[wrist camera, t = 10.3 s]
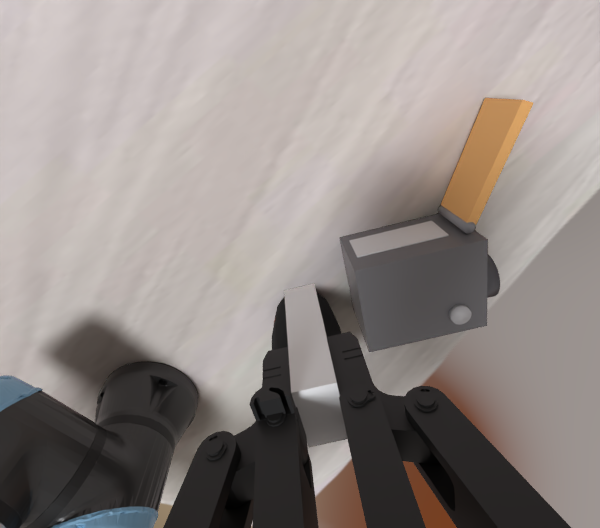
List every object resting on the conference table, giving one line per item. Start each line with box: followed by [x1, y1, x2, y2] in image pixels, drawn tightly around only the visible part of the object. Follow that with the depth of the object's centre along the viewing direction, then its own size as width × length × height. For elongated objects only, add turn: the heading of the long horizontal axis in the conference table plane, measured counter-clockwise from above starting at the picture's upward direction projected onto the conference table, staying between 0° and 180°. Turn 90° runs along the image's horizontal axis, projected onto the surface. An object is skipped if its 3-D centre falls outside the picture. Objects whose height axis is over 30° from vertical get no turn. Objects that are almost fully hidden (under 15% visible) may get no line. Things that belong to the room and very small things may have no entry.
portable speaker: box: [272, 293, 341, 350], centre depth 45 cm, size 9×9×20 cm
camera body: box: [340, 213, 500, 352], centre depth 46 cm, size 18×12×11 cm
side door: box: [438, 98, 533, 234], centre depth 41 cm, size 14×2×7 cm, turn 166°
